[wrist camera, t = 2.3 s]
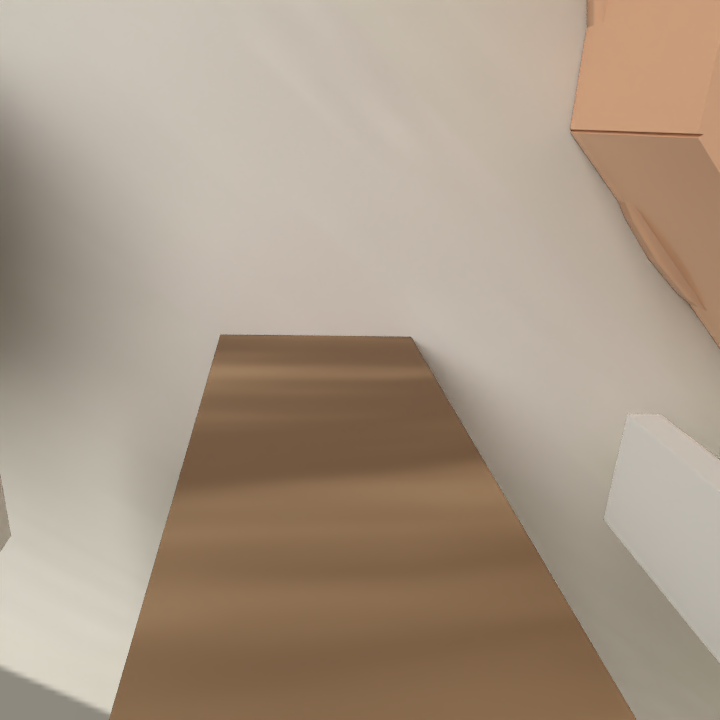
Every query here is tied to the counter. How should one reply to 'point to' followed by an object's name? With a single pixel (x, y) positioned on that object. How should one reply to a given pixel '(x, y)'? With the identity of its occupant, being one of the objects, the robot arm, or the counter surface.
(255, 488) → the wooden rectangular block
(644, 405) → the counter surface
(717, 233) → the octagonal terracotta bowl
